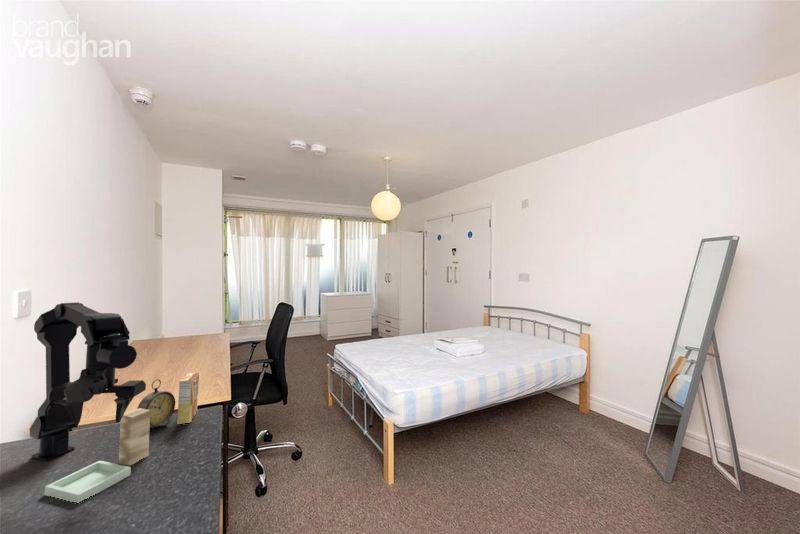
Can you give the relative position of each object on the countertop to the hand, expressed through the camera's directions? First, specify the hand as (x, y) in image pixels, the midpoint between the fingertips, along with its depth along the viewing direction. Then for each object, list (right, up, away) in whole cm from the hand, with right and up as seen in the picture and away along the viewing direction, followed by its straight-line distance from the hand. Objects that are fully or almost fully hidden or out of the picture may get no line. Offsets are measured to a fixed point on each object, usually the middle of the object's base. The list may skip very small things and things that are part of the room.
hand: (97, 423), depth 83 cm
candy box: (+2, -15, +32) cm, 35 cm away
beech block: (+4, -13, +6) cm, 15 cm away
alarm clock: (-5, -14, +25) cm, 29 cm away
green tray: (+2, -13, -4) cm, 14 cm away
